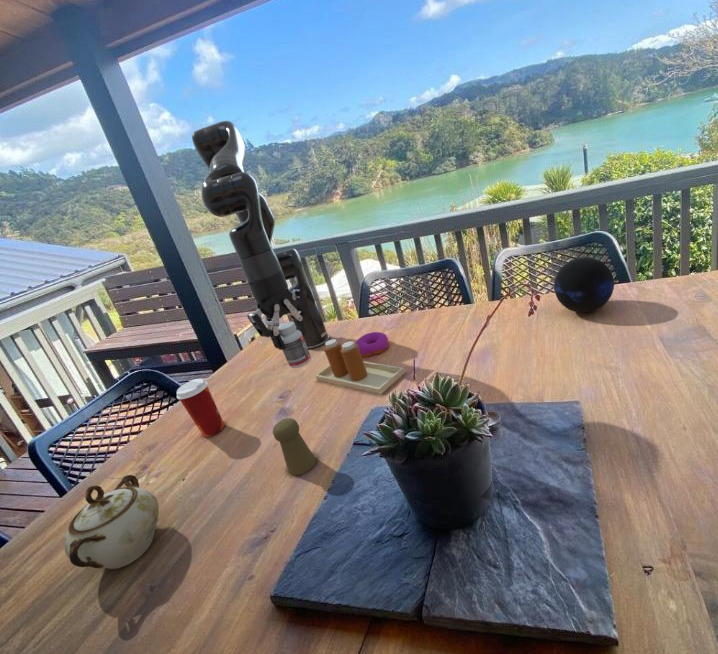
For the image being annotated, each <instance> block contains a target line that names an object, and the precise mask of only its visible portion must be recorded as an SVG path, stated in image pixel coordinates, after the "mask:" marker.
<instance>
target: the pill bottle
mask: <svg viewBox="0 0 718 654" xmlns="http://www.w3.org/2000/svg"><path fill="white" fill-rule="evenodd" d="M278 333H279V334H280V335H281V338H282V340H283V342H284V345H285V347H286V348H285V349H284V350H282V353H283V355H284V357H285V359H286V362H287V364H288V367H289V368H291V369H299V368H302V367H304V366H305V365H308V364H309V363H310V362H311V360H312V355H311V353H310V351H309V349H308V348H307V345H306V343H305V340H304V338H303V335H302V333H301V331H299V330H296V325H295V323H294V322H293V321H287V322H283V323H282V324H279V325H278Z"/></svg>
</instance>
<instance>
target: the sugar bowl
mask: <svg viewBox="0 0 718 654" xmlns="http://www.w3.org/2000/svg"><path fill="white" fill-rule="evenodd" d="M94 491H96V493H97V495H96V498H93V496H92V494H93V492H94ZM85 501H86V502H87V503H88V504H86V505H85V506H84V507H83V508H82V509H80V510H79V512H77V513H76V514H75V516H74V517H73V518H72V519H71V521H70V522H69V525H68V527H67V531H66V533H65V536H64V539H63V550H64V553H65V555H66V557H67V558H68V559H69V561H70V563H71V564H72V565H73V566H74V567H79V568H93V569H109V570H117V569H120V568H123V567H126V566H128V565H130V564H132V563H133V562H135V561H136V560H138V559H139V558H140V557H142V556H143V555H144V553H146V551H147V550H148V549H149V548H150V546H151V544H152V542H153V539H154V535H155V531H156V529H157V524H158V519H159V512H160V511H159V509H160V507H159V502H158V500H157V497H156V496H155V494H153V493H152V492H151V491H149V490H148V489H145V488H141V487H140V483H139V480H138V478H137V477H136V476H135V475H133V474H127V475H125V476H123V477H122V479H121V480H120V481H119V483H118V484H117V485H116V486H115V488H114V489H113V490H110V491H107V492H106V493H105V490H104V489H103V487H101V486H100V485H91V486H88V487H87V488H86V491H85Z"/></svg>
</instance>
